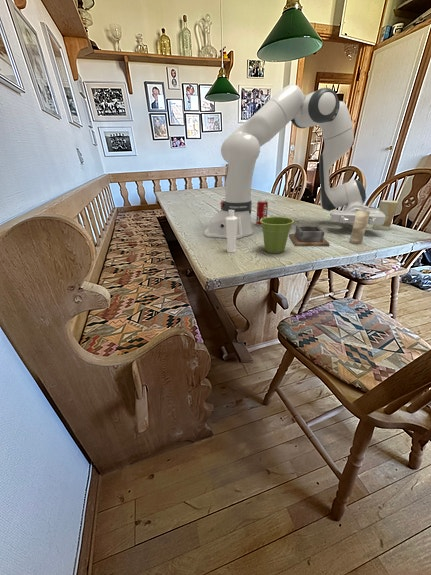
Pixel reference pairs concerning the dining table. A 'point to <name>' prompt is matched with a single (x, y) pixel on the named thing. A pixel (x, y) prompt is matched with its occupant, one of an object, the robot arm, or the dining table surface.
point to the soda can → (261, 211)
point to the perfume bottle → (231, 231)
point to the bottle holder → (308, 236)
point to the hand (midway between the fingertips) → (358, 221)
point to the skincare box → (386, 213)
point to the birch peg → (359, 227)
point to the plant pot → (276, 233)
